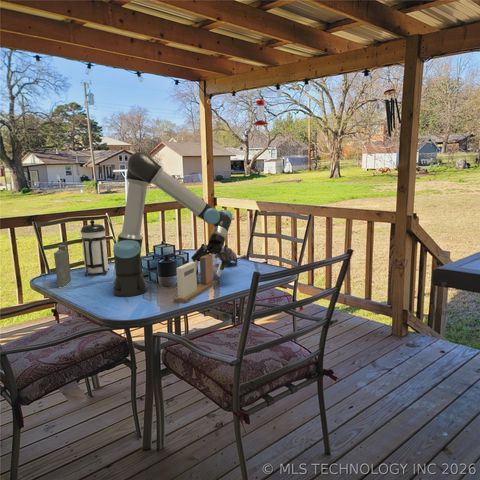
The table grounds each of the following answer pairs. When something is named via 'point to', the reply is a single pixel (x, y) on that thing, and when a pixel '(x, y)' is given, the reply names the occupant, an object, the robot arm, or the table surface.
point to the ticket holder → (189, 283)
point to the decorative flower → (230, 253)
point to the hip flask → (62, 266)
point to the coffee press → (94, 248)
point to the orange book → (206, 269)
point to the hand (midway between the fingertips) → (205, 274)
